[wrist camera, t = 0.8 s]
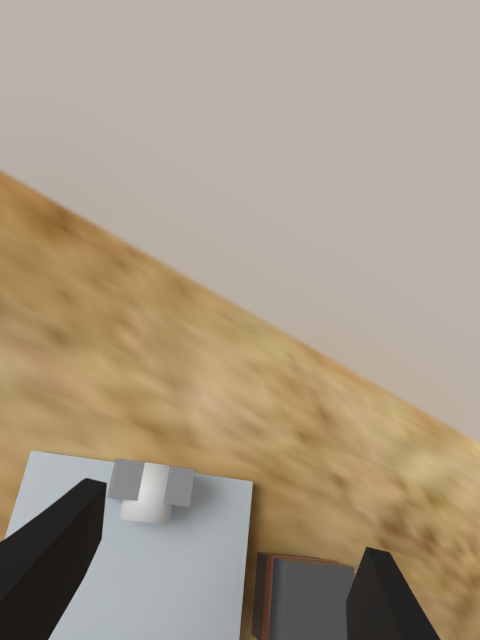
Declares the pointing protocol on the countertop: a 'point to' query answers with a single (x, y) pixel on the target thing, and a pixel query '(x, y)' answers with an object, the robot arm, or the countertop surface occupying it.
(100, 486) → the robot arm
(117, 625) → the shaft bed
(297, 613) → the block
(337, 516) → the countertop surface
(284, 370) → the countertop surface
